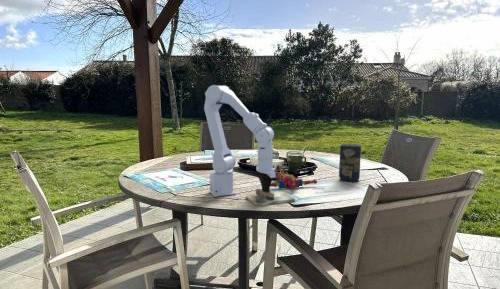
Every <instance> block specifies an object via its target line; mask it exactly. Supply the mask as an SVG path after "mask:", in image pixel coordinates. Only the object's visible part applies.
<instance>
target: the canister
mask: <svg viewBox="0 0 500 289" xmlns="http://www.w3.org/2000/svg"><path fill="white" fill-rule="evenodd" d="M361 156H362V147H361V145H360V144H356V143H352V142H350V143H343V144H341V145H340V147H339V163H338V164H339V166H338V178H339V179H340V180H341V181H346V182H357V181H359V179H360V177H361V174H360V173H361Z"/></svg>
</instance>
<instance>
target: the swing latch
mask: <svg viewBox="0 0 500 289" xmlns="http://www.w3.org/2000/svg"><path fill="white" fill-rule="evenodd" d="M255 194H256V195H266V198H267V199H274V192H273V191H271V190H269V192H268V191H265V190H262V188H256V189H255Z"/></svg>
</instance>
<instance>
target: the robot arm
mask: <svg viewBox="0 0 500 289" xmlns="http://www.w3.org/2000/svg"><path fill="white" fill-rule="evenodd" d="M204 95H205V100H204V105H203V106H204V107H203V110H204V113H205V116H206V121H207V122H206V123H207V126H208V130H209V133H210V139H211V142H212V145H213V150H214V151H213V154H212V165H211V166H212V169H213V170H214V172H211V173H209V191H208V192H209V193H210V194H211V195H212V196H213V197H223V196H224V197H225V196H233V195H237V192H236V191H235V190H234V167H235V166H236V163H237V162H236V158H235V156H234V155H233V154H232V151H231V149H230V148H229V147H228V145H227V139H226V136H225V133H224V128H223V125H222V120H221V117H220V115H221V114H220V112H219V110H220V109H221V107H222V105H223V104H226V105H230V107H231V108H232V109H234V111H235V112H236V113H237V114H239V115H240V116H241V117H242V119H243V121H242V122H243V123H244V125H245V126H246V127H247V128H248V129H249V130H250V132H251V133H253V134H254V138H255V141H257V142H256V143H257V166H256V168H255V169H256V172H258V174H257V178H258V180H259V183H260V185H261V189H262V190H265V191H268V192H270V191H271V190H270V189H271V186H270V185H271V183H273V182H272V181H273V179H275V177H276V173H275V172H276V171H277V169H276V168H275V167H274V168H273V166H274V164H273V161H274V159H273V158H274V157H273V155H274V154H273V139H274V136H275V132H274V129H273V128H272V127H271V126H268V124H267V123H265V122H263V121H262V119H261V118H260V115H259V113H256V112H251V111H249V109H248V108H247V107H246V106H245V105H244V104H243V102H242V101H241V100H240V99H239V98H238V97H237V95H236V94H235V92H234V91H233V90H231V89H230V87H229V86H227V85H224V84H223V85H216V84H211V85H210V86H209V87H207V90H206V91H205V93H204ZM274 170H275V172H274Z"/></svg>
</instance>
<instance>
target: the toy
mask: <svg viewBox="0 0 500 289" xmlns="http://www.w3.org/2000/svg"><path fill="white" fill-rule="evenodd" d="M273 168H275V166H274V165H273ZM275 169H276V170H274V172H275V173H276V177H275V178H274V179H275V180H277V181H278V182H271V185H270V187H274V188H276V187H278V189H279V188H285V189H286V188H289V187H290V188H291V189H292V190H294V189H297V187H299V186H302V187H303V186H304V185H305V186H307V185H310V184H311V185H312V184H313V185H314V184H317V183H318V180H317V179H312V180H303V179H302V178H299V179H298V178H296V177H295V176H294V175H293V174H290V173H289V172H288V171H285V170H284V169H282V170H281V167H280V165H279V164H277V165H276V168H275ZM278 171H280V172H278ZM290 188H289V189H290Z"/></svg>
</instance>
